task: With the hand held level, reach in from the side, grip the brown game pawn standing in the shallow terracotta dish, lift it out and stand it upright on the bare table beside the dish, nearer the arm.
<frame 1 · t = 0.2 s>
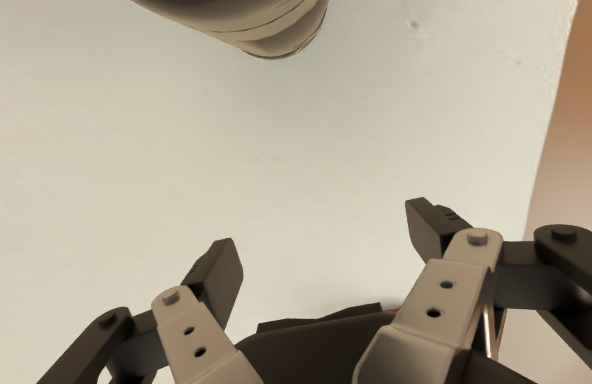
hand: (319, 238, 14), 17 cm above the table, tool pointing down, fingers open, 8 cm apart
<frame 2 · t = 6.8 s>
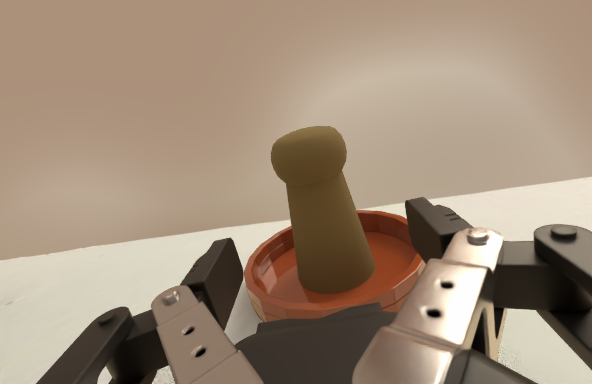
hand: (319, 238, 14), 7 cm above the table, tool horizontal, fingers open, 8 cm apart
dish: (336, 272, 23), on the table
brown game pawn: (336, 270, 23), resting on dish
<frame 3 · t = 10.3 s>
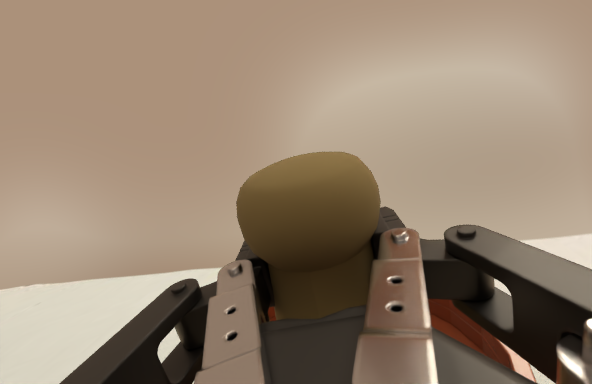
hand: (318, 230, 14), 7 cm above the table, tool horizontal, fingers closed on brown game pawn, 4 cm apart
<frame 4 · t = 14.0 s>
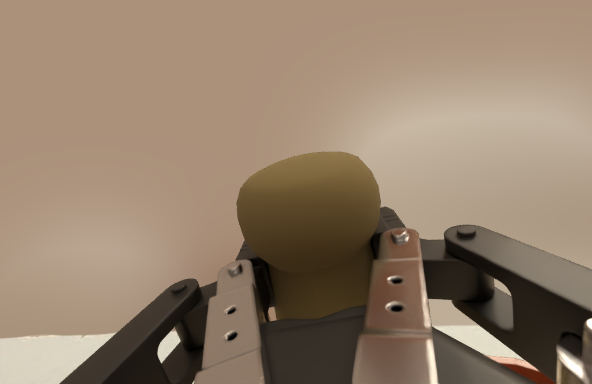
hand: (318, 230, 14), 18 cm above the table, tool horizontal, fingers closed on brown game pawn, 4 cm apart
when the fingers open (7 cm above the table, at t = 17.8 s): brown game pawn stays where it is, on the table.
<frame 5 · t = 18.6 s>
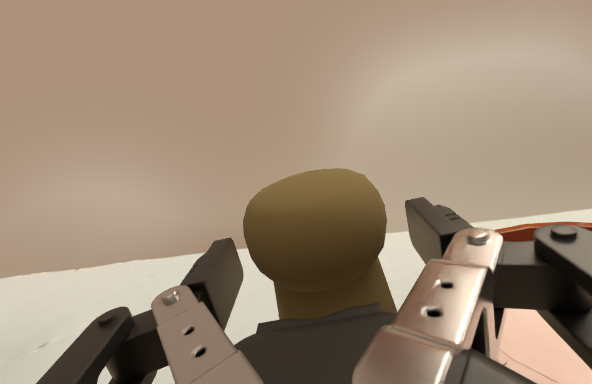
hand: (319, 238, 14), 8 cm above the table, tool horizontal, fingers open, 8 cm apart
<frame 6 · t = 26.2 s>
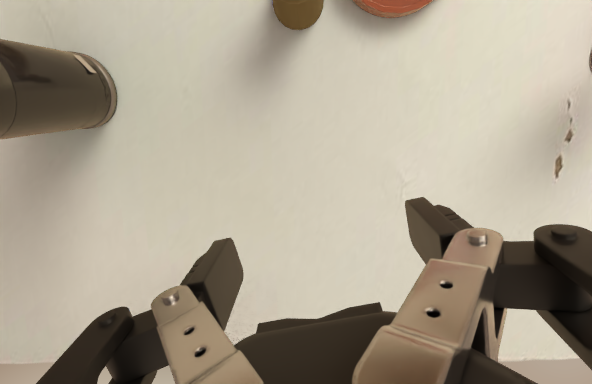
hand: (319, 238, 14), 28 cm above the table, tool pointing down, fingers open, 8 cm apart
brown game pawn: (298, 2, 35), on the table
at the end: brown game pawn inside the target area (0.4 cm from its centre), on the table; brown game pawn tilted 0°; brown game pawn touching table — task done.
